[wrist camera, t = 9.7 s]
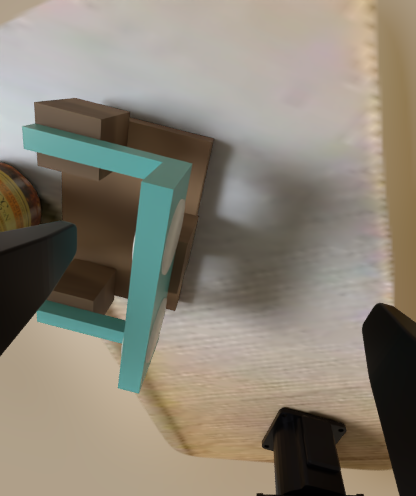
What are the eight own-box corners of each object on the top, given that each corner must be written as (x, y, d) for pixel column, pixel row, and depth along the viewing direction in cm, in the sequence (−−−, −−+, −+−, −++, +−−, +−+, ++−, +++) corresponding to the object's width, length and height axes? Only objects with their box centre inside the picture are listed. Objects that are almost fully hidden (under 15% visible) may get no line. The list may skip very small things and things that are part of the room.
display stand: (179, 306, 25) (164, 353, 21) (71, 278, 25) (34, 319, 21) (218, 131, 19) (208, 146, 14) (71, 93, 19) (15, 97, 14)
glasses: (159, 340, 21) (140, 394, 17) (46, 311, 21) (4, 358, 17) (194, 164, 15) (176, 190, 11) (35, 123, 15) (-32, 137, 11)
